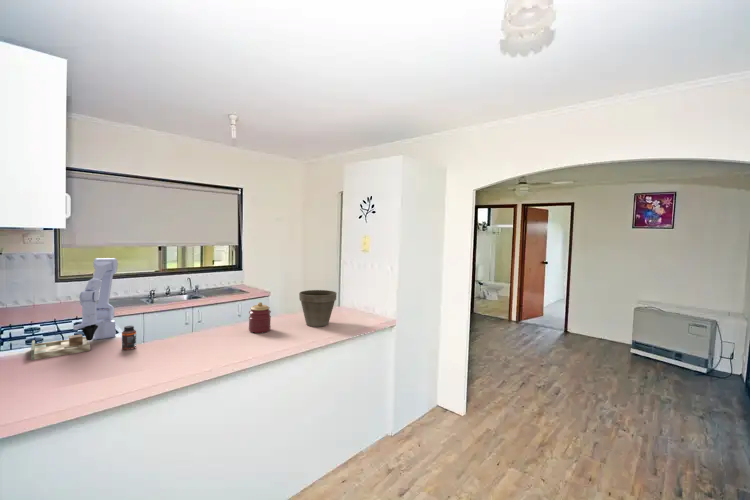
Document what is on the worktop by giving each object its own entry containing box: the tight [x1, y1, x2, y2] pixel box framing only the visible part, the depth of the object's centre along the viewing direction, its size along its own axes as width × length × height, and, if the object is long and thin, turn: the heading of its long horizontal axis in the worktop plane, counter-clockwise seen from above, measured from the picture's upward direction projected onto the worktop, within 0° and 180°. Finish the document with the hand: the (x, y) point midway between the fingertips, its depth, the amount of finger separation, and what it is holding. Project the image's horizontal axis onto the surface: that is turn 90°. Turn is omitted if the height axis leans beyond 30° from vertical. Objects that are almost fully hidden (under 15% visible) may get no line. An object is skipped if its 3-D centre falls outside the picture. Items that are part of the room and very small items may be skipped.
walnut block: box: [68, 333, 84, 346], centre depth 179 cm, size 5×5×4 cm
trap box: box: [30, 336, 91, 361], centre depth 175 cm, size 21×18×4 cm
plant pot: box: [298, 289, 337, 328], centre depth 239 cm, size 25×25×22 cm
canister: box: [248, 301, 272, 334], centre depth 219 cm, size 13×13×18 cm
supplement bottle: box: [121, 325, 137, 351], centre depth 181 cm, size 6×6×11 cm
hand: (89, 340), depth 182 cm, fingers closed
